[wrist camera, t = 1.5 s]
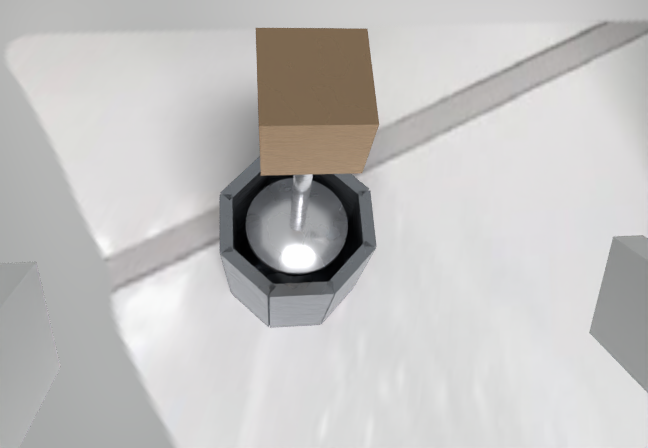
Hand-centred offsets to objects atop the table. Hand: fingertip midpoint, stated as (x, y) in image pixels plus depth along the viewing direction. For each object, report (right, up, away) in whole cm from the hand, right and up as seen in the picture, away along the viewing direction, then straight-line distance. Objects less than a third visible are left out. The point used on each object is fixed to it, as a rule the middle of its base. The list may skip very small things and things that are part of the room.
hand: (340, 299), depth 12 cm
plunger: (-2, +1, +23) cm, 23 cm away
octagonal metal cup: (-3, -2, +31) cm, 31 cm away
